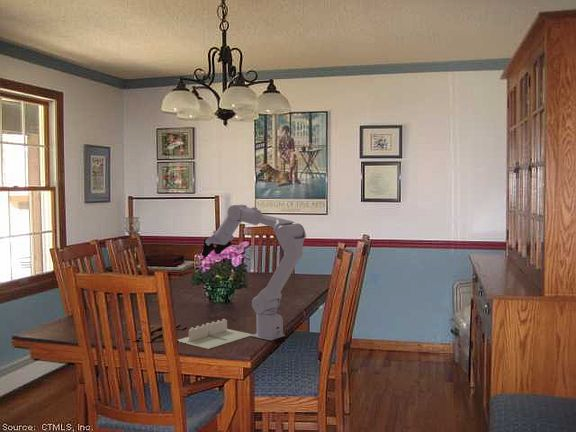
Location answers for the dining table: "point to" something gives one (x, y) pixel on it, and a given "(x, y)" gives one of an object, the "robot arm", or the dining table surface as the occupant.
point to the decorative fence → (159, 332)
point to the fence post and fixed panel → (200, 332)
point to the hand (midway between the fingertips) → (209, 254)
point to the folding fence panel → (218, 326)
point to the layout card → (216, 339)
